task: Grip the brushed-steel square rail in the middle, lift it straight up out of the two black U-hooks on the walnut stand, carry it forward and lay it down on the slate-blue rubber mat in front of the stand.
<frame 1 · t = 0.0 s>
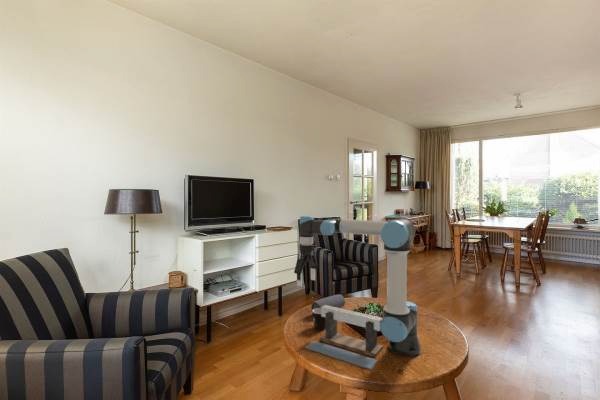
hand: (306, 282, 169), 28 cm above the table, tool pointing down, fingers open, 13 cm apart
rail: (350, 322, 157), point 11 cm above the table, touching wooden stand
coffee mug: (320, 327, 177), on the table
bluetooth speaker: (328, 312, 199), on the table
wooden stand: (350, 344, 157), on the table
mat: (339, 354, 147), on the table
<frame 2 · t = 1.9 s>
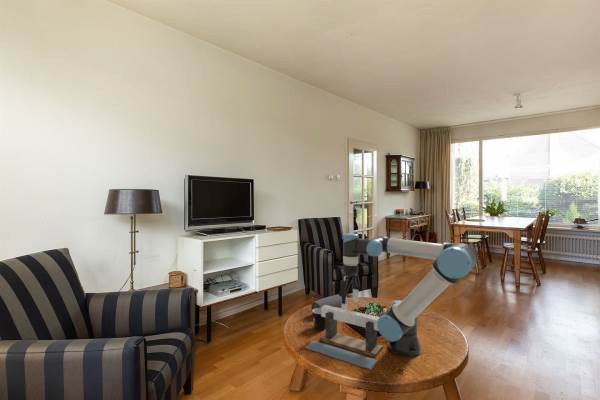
hand: (350, 305, 157), 20 cm above the table, tool pointing down, fingers open, 13 cm apart
nothing on the table moved.
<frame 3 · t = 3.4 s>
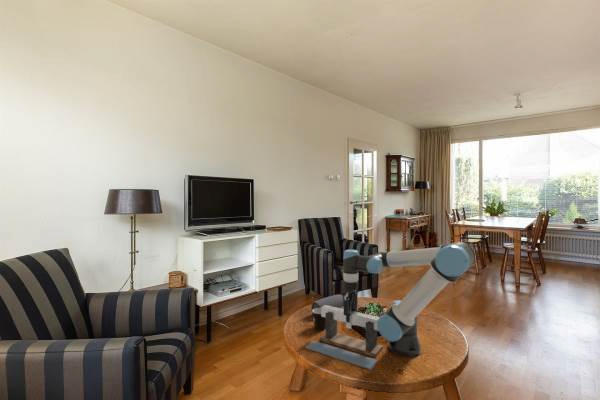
hand: (350, 326, 157), 9 cm above the table, tool pointing down, fingers closed on rail, 4 cm apart
rail: (350, 322, 157), point 12 cm above the table, touching gripper, wooden stand
everything else where it was.
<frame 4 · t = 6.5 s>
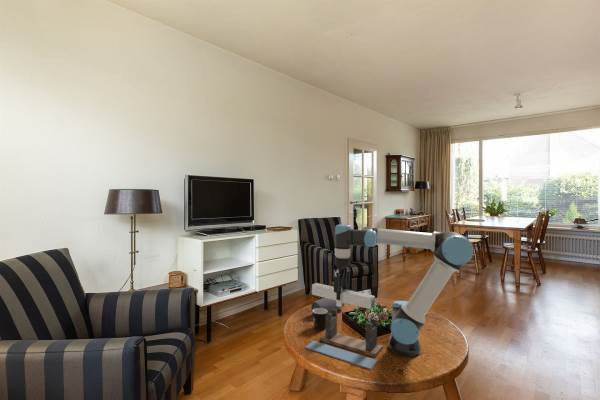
hand: (341, 304, 149), 23 cm above the table, tool pointing down, fingers closed on rail, 4 cm apart
rail: (341, 300, 149), point 25 cm above the table, touching gripper
everything else where it was.
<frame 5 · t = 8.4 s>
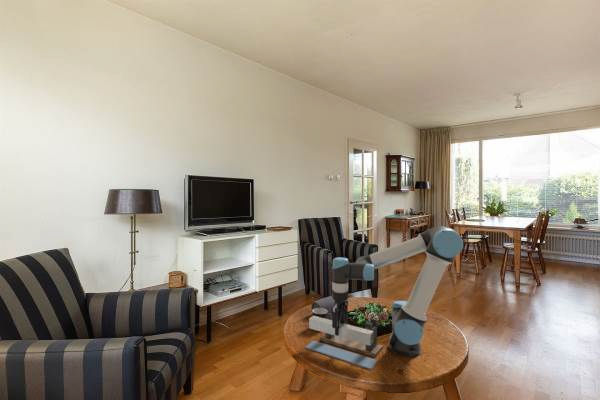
hand: (339, 339, 147), 7 cm above the table, tool pointing down, fingers closed on rail, 4 cm apart
rail: (339, 334, 147), point 10 cm above the table, touching gripper
everything else where it was.
when the fingers open (1 cm above the table, at t = 9.8 s): rail drops 3 cm, resting on mat.
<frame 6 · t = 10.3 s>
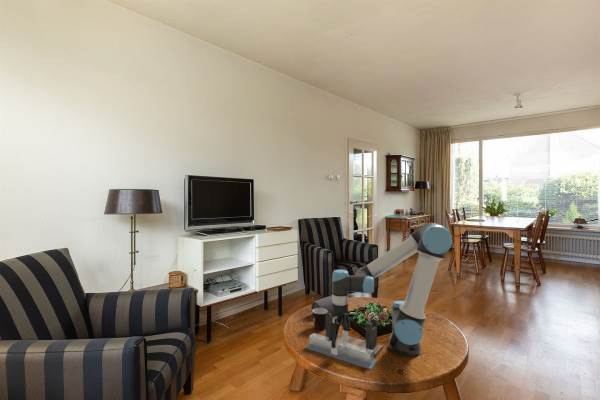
hand: (339, 348, 147), 3 cm above the table, tool pointing down, fingers open, 11 cm apart
rail: (339, 353, 147), point 1 cm above the table, touching mat
everything else where it was.
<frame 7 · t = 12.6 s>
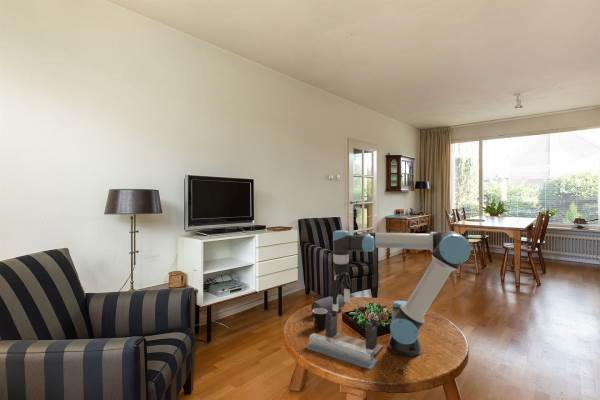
hand: (341, 306, 150), 22 cm above the table, tool pointing down, fingers open, 13 cm apart
nothing on the table moved.
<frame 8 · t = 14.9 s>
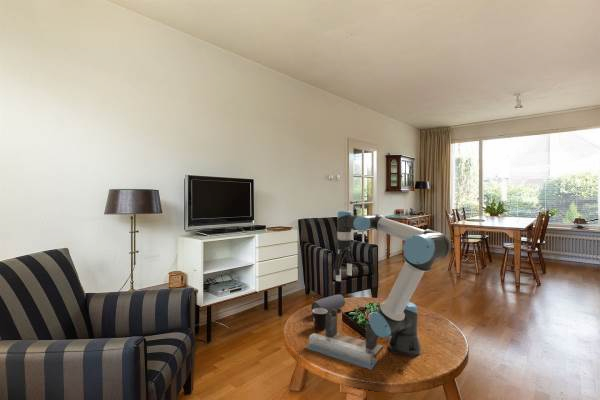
hand: (344, 278, 168), 31 cm above the table, tool pointing down, fingers open, 13 cm apart
nothing on the table moved.
at the end: rail inside the target area on the mat (0.0 cm from its centre), point 0.6 cm above the mat's base; rail touching mat; rail tilted 0° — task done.
